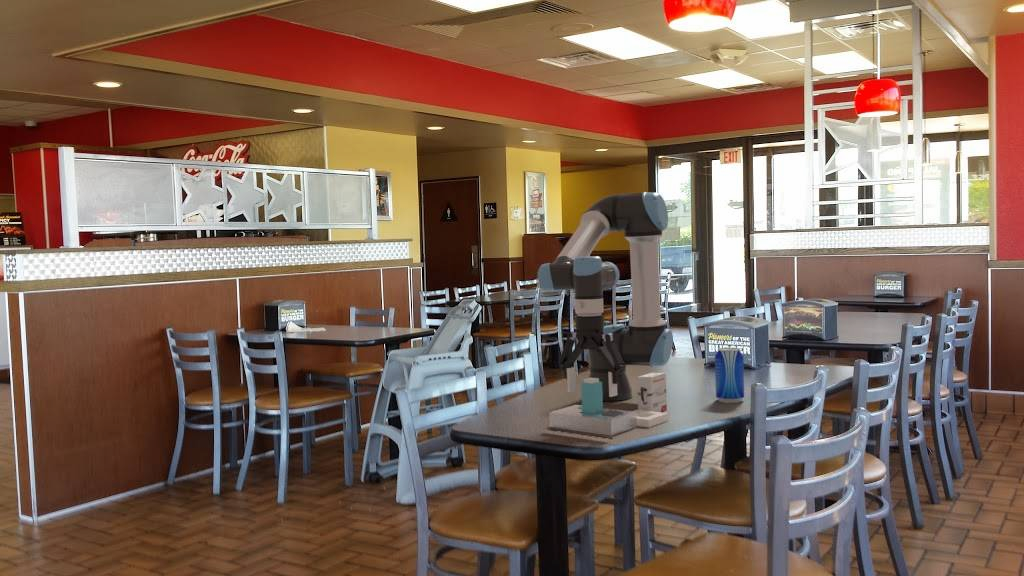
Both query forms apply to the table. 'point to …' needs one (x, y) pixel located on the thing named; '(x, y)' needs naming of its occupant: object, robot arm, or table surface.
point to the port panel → (593, 420)
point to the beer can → (729, 375)
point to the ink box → (652, 392)
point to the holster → (650, 418)
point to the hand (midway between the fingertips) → (592, 393)
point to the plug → (592, 396)
